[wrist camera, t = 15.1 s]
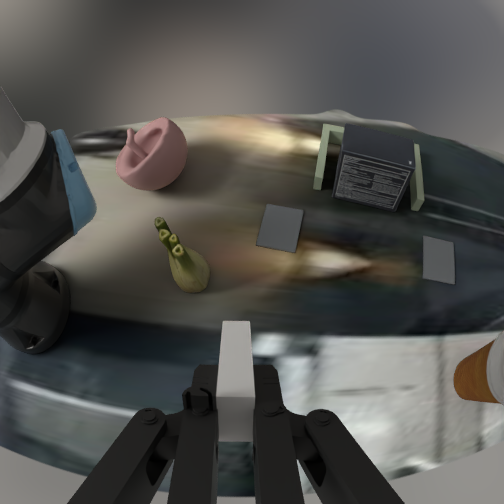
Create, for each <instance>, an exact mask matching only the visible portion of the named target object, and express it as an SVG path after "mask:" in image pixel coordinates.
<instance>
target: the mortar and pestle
mask: <svg viewBox="0 0 504 504" xmlns="http://www.w3.org/2000/svg"><path fill="white" fill-rule="evenodd" d="M127 133H128V139H127V141H126V145H125V146H124V148H123V149H122V151H121V152H120V154H119V156H118V157H117V160H116V172H117V175H118V176H119V177H120V178H121V179H122V180H123V181H124V182H125V183H127V184H128V185H130V186H132V187H134V188H136V189H140V190H156V189H160V188H163V187H165V186H167V185H169V184H170V183H172V182H173V181H174V180H175V179H176V178H177V177H178V176H179V175H180V173H181V172H182V170H183V168H184V166H185V163H186V160H187V154H188V148H187V142H186V139H185V136H184V134H183V132H182V131H181V129H180V128H179V127H178V126H177V125H176V124H175V123H174V122H173V121H171V120H169V119H168V118H163V117H160V118H158V119H156V120H153V121H152V122H150V123H148V124H147V125H145V126H144V127H143V128H141V129H140V130H139V131H138V132H137V133H136V134H135V135H134V130H133V129H132V128H130V129H128V130H127Z"/></svg>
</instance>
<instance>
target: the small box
mask: <svg viewBox="0 0 504 504" xmlns="http://www.w3.org/2000/svg"><path fill="white" fill-rule="evenodd" d="M415 170H416V161H415V148H414V140H412V139H408V138H404V137H401V136H397V135H393V134H389V133H385V132H381V131H377V130H373V129H369V128H365V127H361V126H356V125H352V124H347V123H346V124H345V128H344V133H343V138H342V143H341V148H340V153H339V159H338V164H337V170H336V175H335V180H334V186H333V191H332V197H333V198H337V199H341V200H346V201H350V202H355V203H359V204H363V205H367V206H371V207H375V208H379V209H383V210H388V211H391V212H395V211H396V210H397V207H398V205H399V202H400V200H401V199H402V197H403V195H404V192H405V190H406V188H407V186H408V184H409V182H410V179H411V177H412V175H413V173H414V171H415Z"/></svg>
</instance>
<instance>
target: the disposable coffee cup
mask: <svg viewBox="0 0 504 504" xmlns="http://www.w3.org/2000/svg"><path fill="white" fill-rule="evenodd" d="M454 387H455V390H456V392H457V394H458V395H459V396H460V397H461V398H462V399H465V400H472V401H480V402H490V403H500V404H502V405H504V331H502V332H501V333H500V334H499V335H498V337H497V338H496V339H495V340H493V341H492V342H490V343H489V344H487V345H486V346H484V347H483V348H481V349H479V350H478V351H476V352H475V353H473V354H471V355H470V356H468V357H466V358H465V359H463V360H462V361H461V362H460V363H459V364H458V366H457V368H456V370H455V373H454Z"/></svg>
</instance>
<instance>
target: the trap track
mask: <svg viewBox="0 0 504 504" xmlns="http://www.w3.org/2000/svg"><path fill="white" fill-rule="evenodd" d="M343 133H344V127H339V126H334V125H328V124H323V131H322V137H321V143H320V149H319V155H318V161H317V167H316V173H315V179H314V186H313V189H316V190H321V185H322V180H323V173H324V167H325V160H326V153H327V146H328V143H333V144H338V145H341V143H342V138H343ZM414 148H415V161H416V170H415V171H414V173H413V175H412V177H411V179H410V194H411V210H414V211H418V210H419V209H420V207H421V205H422V204H423V202H424V189H423V178H422V168H421V159H420V151H419V145H417V144H414ZM303 211H304V210H299V209H294V208H288V207H283V206H277V205H271V204H267V206H266V209H265V213H264V217H263V220H262V224H261V227H260V231H259V235H258V238H257V242H256V246H261V247H266V248H271V249H276V250H281V251H287V252H292V253H295V250H296V245H297V240H298V235H299V231H300V226H301V221H302V216H303ZM423 279H427V280H432V281H437V282H442V283H447V284H452V285H455V266H454V245H453V243H452V242H448V241H444V240H440V239H436V238H432V237H428V236H423Z"/></svg>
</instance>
